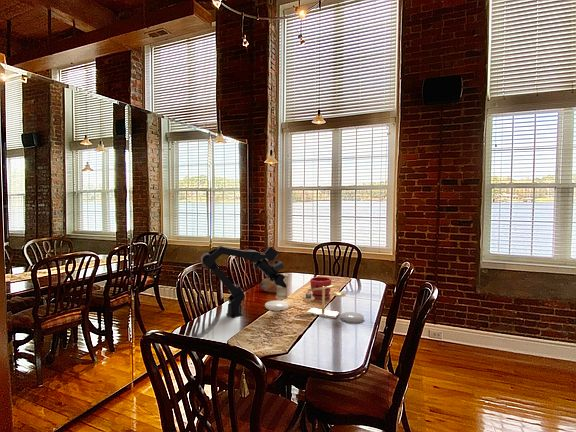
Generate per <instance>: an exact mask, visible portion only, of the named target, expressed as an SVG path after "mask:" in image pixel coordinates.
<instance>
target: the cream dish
mask: <svg viewBox="0 0 576 432" xmlns="http://www.w3.org/2000/svg"><path fill="white" fill-rule="evenodd" d="M264 308H265V309H267V310H268V311H272V310H273V311H274V312H281V311H280V310H283V311H286V310H285V309H287V310H289V309H290V303H289V302H287V301H286V300H269V301H267V302H266V303H265V304H264ZM273 311H272V312H273Z"/></svg>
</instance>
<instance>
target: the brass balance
mask: <svg viewBox="0 0 576 432" xmlns="http://www.w3.org/2000/svg"><path fill="white" fill-rule="evenodd" d="M340 287H341V285H340V284H336V285H331V286H328V287H325V286H323V287H321V288H314V289H311V288H310V289H309V288H308V292H307V293H305V295H303V296H301V300H304V301H308V302H310V301H311V302H312V301H315V299H316V298H315V297H313V296H312V293H310V292H312V291H313V290H320V289H322V299H321V309H320V308H315V307H311V308H310V309H308V311H307V312H306V313H310V314H309V315H311V314H316V315H315V316H317V315H319V317H324V318H331V319H336V318H337V317H339V315H340V311H335V310H327V309H325V306H326V304H325V303H326V302H325V301H326V299H325V289H327V288H331V289H332V288H338V291H332V295H333V296H334V297H346V296H347V294H346V293H345V292H343V291H340Z"/></svg>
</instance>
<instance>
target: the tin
mask: <svg viewBox="0 0 576 432" xmlns="http://www.w3.org/2000/svg"><path fill="white" fill-rule="evenodd" d="M260 287H261V289H262V290H263V291H265V292H270V293H276V294H277V285H276V284H275V283H274V282H273V281H271V280H269V279H268V278H267V277H266V278H263V279H262V280H261V282H260Z"/></svg>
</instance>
